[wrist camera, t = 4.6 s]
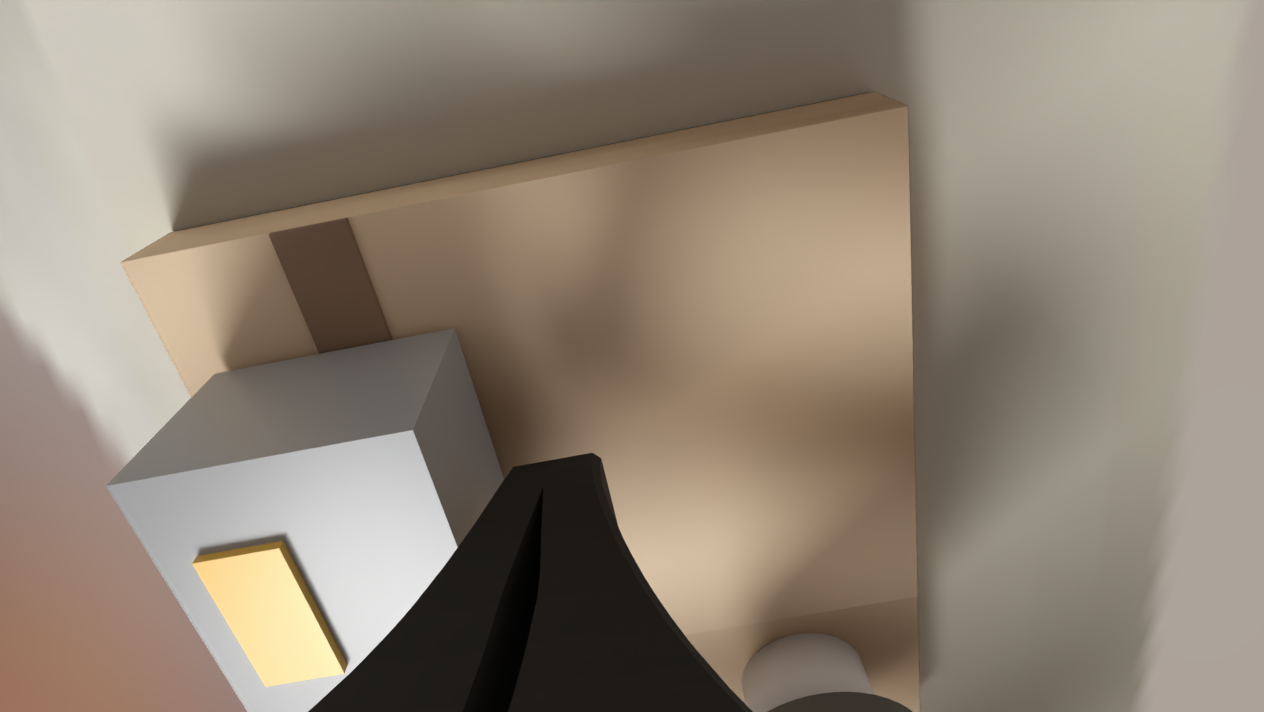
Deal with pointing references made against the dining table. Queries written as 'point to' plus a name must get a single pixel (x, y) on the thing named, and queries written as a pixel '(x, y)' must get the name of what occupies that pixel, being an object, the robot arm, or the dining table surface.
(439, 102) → the dining table surface
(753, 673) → the dark grey piece
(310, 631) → the block
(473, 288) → the plank
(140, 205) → the dining table surface
